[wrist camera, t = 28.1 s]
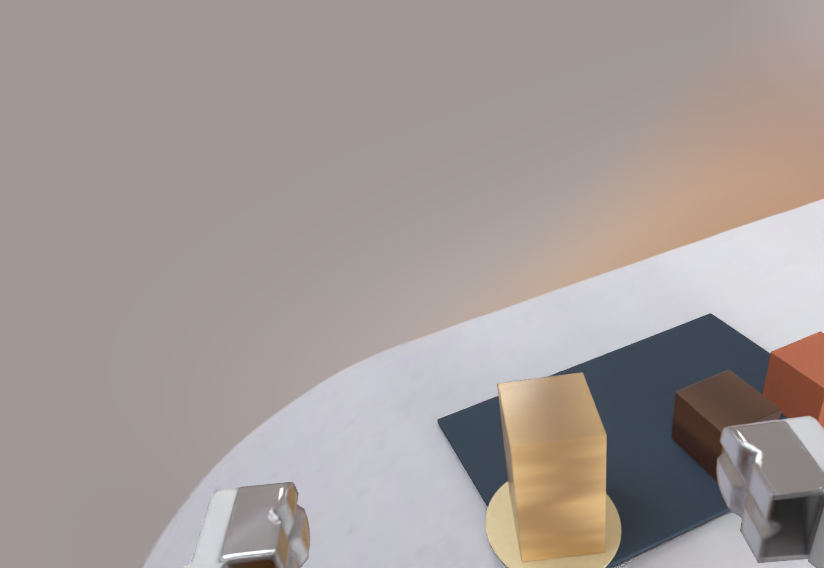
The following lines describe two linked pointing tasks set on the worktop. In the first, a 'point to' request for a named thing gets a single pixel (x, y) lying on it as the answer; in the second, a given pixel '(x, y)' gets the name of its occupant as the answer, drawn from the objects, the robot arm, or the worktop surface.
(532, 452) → the brass rectangular block
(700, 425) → the walnut block
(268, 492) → the robot arm
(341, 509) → the worktop surface
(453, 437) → the pattern mat
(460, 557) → the worktop surface
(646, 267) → the worktop surface
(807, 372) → the terracotta block
